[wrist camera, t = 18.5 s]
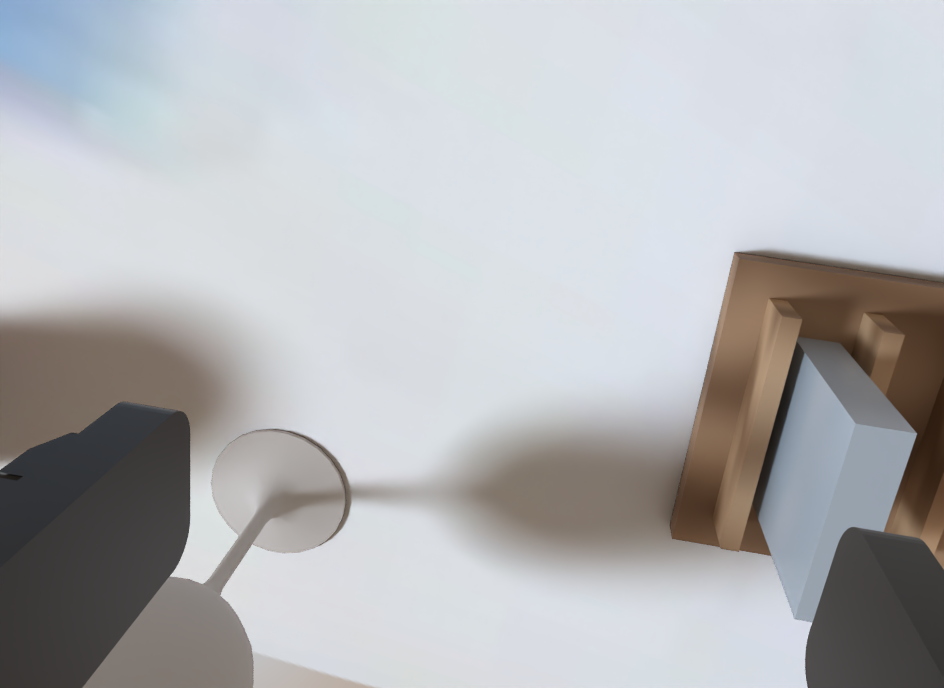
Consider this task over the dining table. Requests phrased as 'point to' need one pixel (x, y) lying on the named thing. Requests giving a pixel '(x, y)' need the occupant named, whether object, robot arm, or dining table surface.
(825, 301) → the dish rack
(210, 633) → the wineglass
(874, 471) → the grey-blue thick slab
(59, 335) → the dining table surface
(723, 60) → the dining table surface
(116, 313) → the dining table surface
